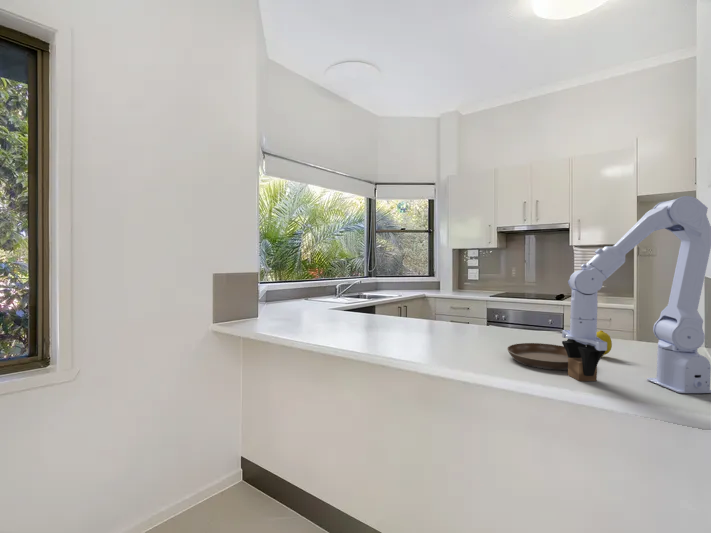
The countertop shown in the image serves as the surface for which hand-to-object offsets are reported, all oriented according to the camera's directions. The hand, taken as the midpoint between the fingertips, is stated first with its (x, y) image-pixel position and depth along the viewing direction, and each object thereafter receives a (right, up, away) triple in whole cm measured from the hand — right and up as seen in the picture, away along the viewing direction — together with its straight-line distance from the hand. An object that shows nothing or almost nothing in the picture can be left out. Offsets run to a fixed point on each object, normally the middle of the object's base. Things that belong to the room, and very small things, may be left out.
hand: (581, 372), depth 96 cm
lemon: (+18, -1, +21) cm, 28 cm away
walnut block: (0, -1, 0) cm, 1 cm away
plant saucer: (-2, -1, +15) cm, 15 cm away
